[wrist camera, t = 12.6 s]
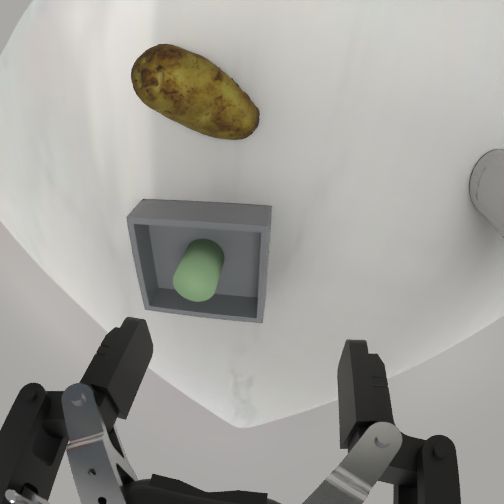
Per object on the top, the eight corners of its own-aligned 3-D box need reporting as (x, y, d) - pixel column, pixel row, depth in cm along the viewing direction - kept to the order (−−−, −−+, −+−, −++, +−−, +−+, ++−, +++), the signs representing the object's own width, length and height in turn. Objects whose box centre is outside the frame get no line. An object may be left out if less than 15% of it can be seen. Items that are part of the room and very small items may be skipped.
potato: (207, 158, 35) (187, 184, 29) (142, 71, 30) (106, 76, 23) (270, 119, 32) (265, 135, 26) (202, 25, 27) (178, 15, 20)
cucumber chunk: (224, 240, 40) (214, 268, 35) (225, 273, 42) (216, 303, 37) (184, 237, 40) (170, 264, 35) (188, 269, 43) (175, 299, 38)
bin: (271, 206, 38) (269, 226, 34) (265, 297, 45) (262, 323, 41) (142, 199, 39) (126, 217, 35) (156, 286, 46) (145, 309, 42)
